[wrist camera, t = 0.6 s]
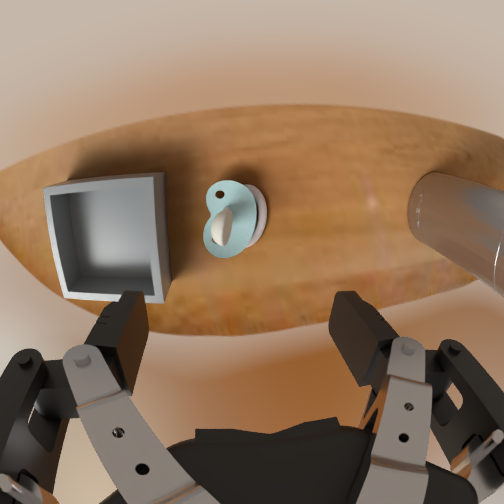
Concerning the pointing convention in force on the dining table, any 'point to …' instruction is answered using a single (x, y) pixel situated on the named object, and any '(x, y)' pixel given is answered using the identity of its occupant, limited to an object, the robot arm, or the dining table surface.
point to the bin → (110, 236)
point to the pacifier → (233, 218)
